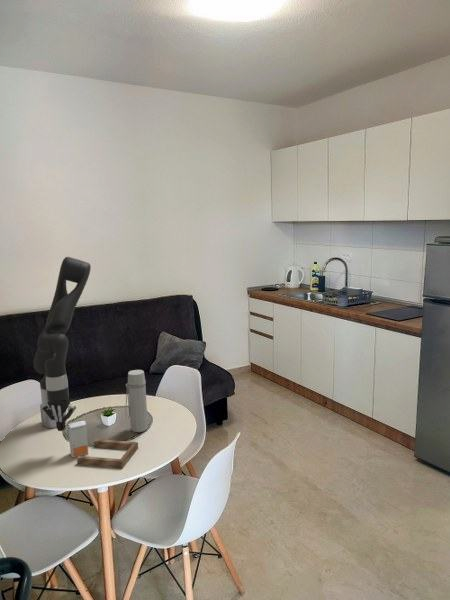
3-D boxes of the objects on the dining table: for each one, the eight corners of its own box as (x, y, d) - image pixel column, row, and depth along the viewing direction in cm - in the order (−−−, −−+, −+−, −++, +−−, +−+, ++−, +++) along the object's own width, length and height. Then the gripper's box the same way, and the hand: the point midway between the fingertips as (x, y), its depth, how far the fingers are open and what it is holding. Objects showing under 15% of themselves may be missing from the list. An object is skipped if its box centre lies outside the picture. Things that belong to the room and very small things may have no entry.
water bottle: (150, 425, 183) (147, 369, 179) (145, 434, 175) (142, 375, 171) (129, 424, 184) (126, 369, 180) (123, 433, 176) (119, 375, 172)
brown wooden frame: (77, 464, 154) (76, 457, 153) (96, 445, 167) (95, 439, 167) (122, 468, 150) (122, 461, 150) (138, 448, 164) (137, 442, 164)
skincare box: (72, 458, 158) (69, 428, 156) (70, 453, 162) (67, 423, 160) (89, 454, 161) (86, 424, 159) (87, 449, 164) (84, 419, 162)
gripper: (34, 389, 156) (39, 433, 158) (67, 390, 153) (72, 436, 156) (47, 381, 163) (51, 424, 166) (78, 383, 160) (82, 426, 163)
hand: (61, 430), depth 161 cm, fingers closed
